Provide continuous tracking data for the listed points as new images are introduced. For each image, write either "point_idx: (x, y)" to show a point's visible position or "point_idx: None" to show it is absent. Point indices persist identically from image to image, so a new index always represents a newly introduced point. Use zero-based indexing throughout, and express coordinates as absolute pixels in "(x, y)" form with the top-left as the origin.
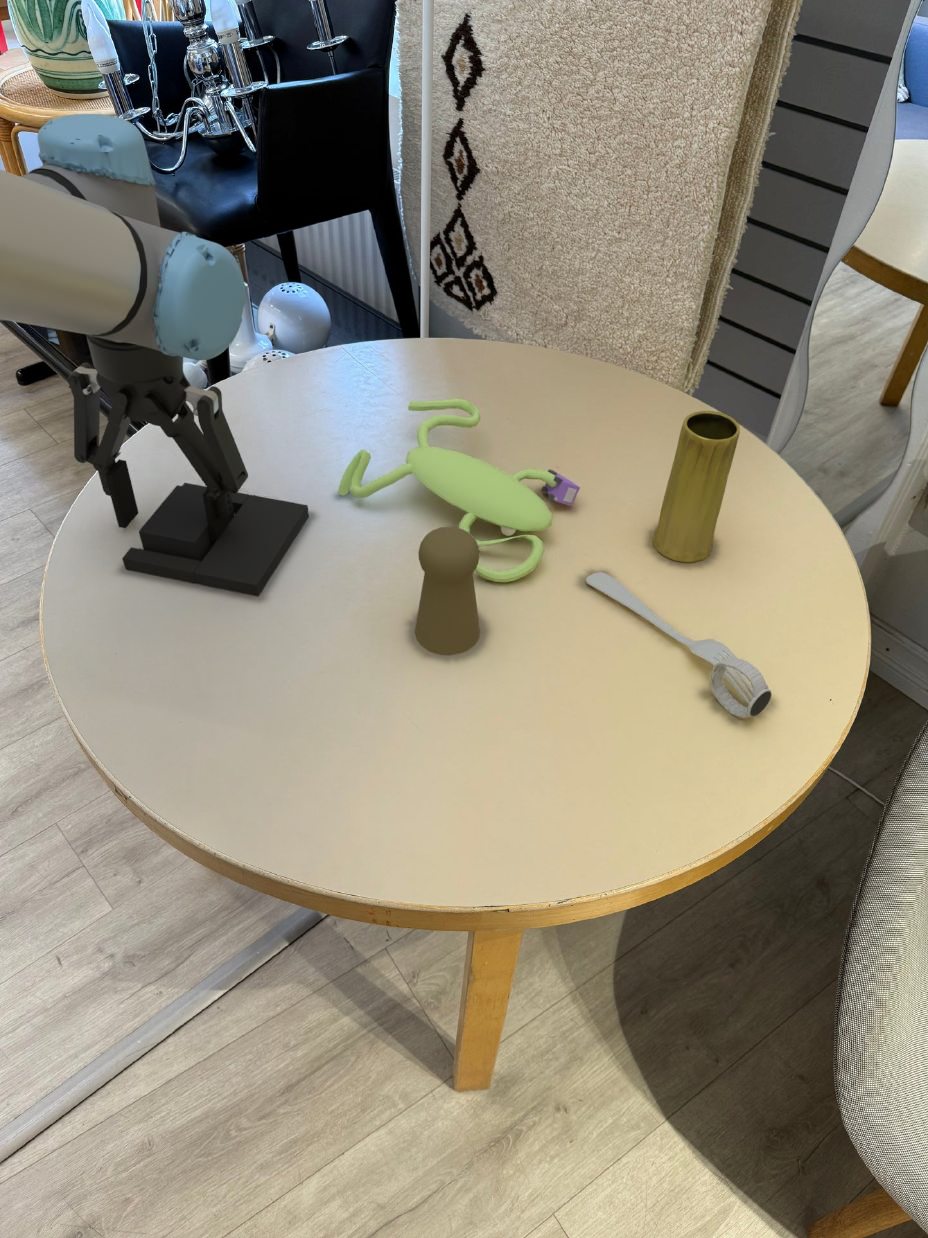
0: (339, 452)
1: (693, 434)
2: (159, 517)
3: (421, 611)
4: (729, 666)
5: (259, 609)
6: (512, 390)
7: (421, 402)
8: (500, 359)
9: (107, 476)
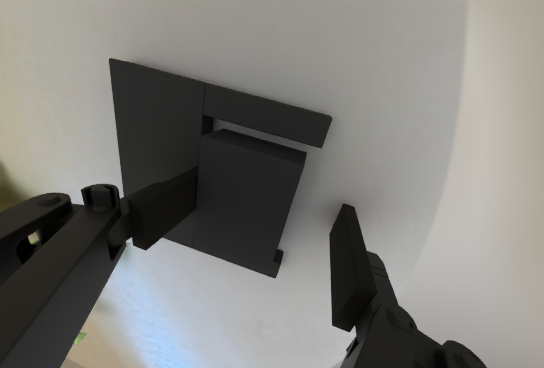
0: (154, 298)
1: None
2: (276, 200)
3: None
4: None
5: (118, 32)
6: None
7: None
8: (97, 363)
9: (370, 285)
